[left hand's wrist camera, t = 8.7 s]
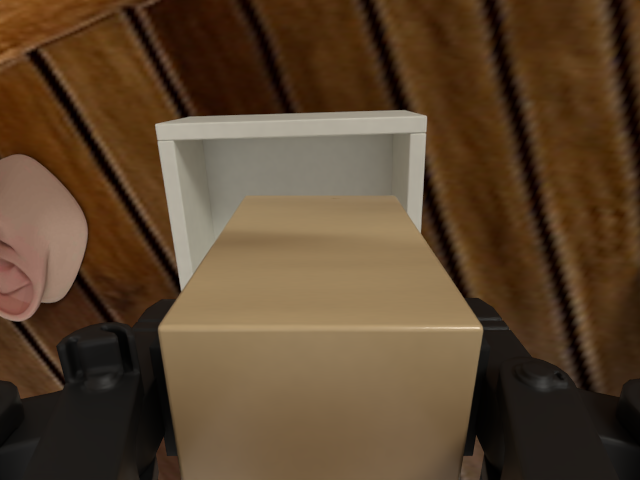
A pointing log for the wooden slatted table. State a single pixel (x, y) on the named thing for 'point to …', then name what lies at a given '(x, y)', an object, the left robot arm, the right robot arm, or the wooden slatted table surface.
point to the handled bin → (283, 166)
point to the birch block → (320, 348)
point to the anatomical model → (36, 237)
